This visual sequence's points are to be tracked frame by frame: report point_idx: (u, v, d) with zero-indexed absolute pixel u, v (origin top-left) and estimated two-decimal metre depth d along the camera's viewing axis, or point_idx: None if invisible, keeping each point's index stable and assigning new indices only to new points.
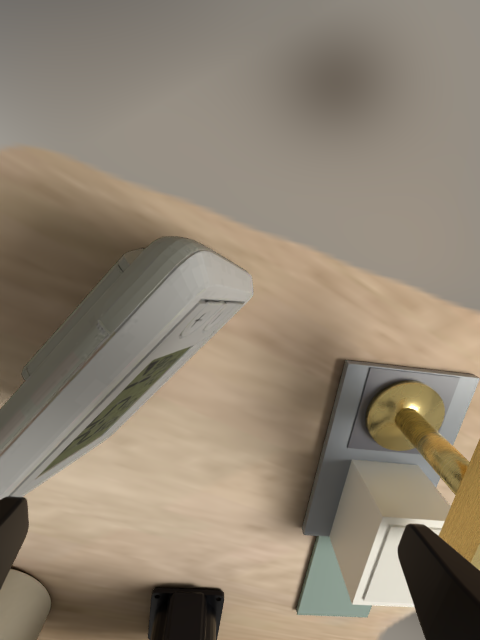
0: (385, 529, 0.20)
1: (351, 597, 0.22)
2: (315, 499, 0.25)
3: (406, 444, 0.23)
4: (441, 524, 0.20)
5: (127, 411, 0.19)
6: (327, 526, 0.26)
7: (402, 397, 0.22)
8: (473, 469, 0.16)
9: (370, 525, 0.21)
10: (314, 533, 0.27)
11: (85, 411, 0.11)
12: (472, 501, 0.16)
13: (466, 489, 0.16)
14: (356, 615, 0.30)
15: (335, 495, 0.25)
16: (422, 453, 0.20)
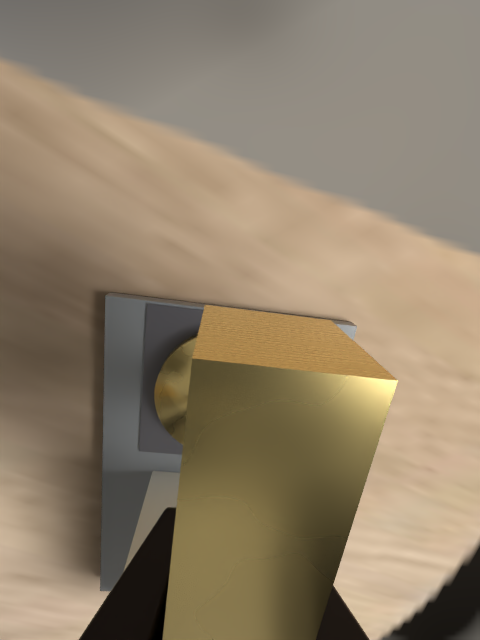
0: None
1: None
2: (105, 536, 0.15)
3: None
4: None
5: None
6: None
7: None
8: None
9: None
10: None
11: None
12: None
13: None
14: None
15: None
16: None
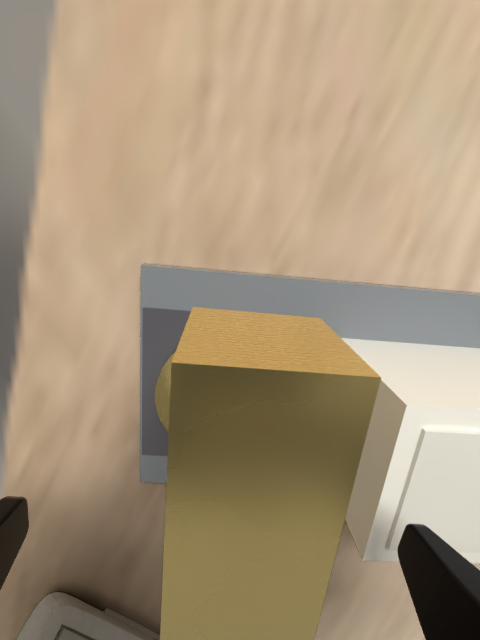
0: None
1: None
2: None
3: None
4: (404, 452, 0.09)
5: None
6: None
7: None
8: None
9: None
10: None
11: None
12: None
13: None
14: None
15: None
16: None
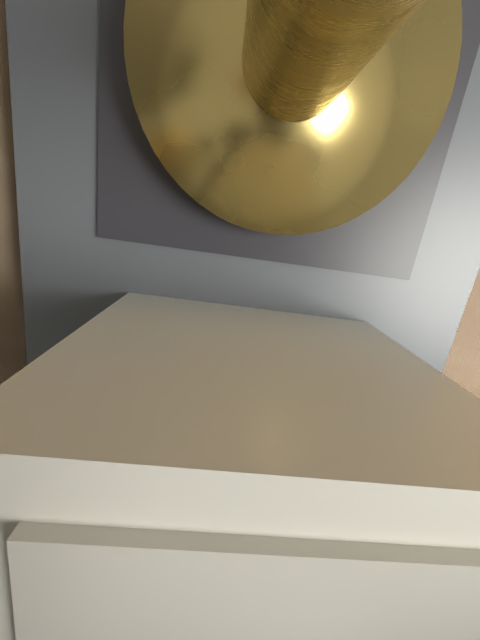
0: None
1: None
2: None
3: (162, 83, 0.05)
4: (457, 519, 0.03)
5: None
6: None
7: None
8: None
9: None
10: None
11: None
12: None
13: None
14: None
15: None
16: None
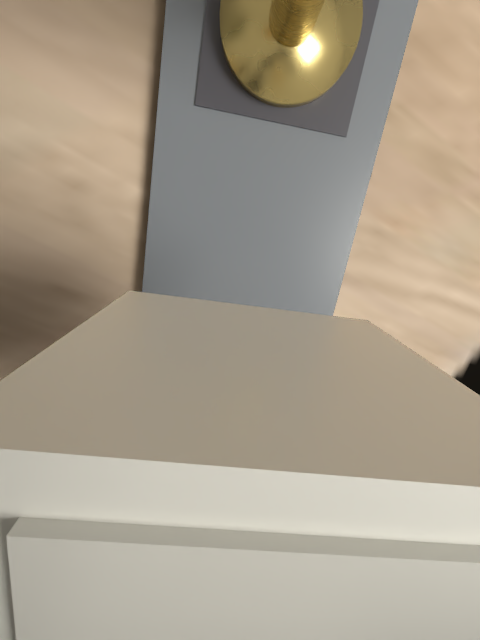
0: None
1: None
2: (152, 224, 0.15)
3: (234, 27, 0.12)
4: (459, 515, 0.03)
5: None
6: (179, 286, 0.16)
7: (338, 3, 0.12)
8: None
9: None
10: None
11: None
12: None
13: None
14: None
15: (186, 218, 0.15)
16: None
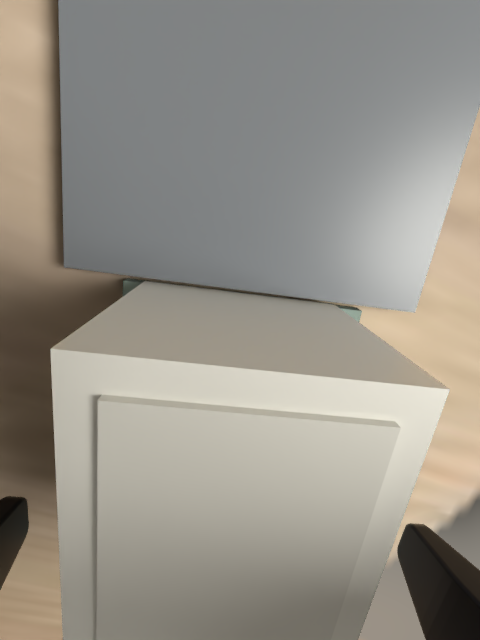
0: (87, 420, 0.04)
1: None
2: (69, 104, 0.07)
3: None
4: (348, 398, 0.04)
5: None
6: (135, 235, 0.08)
7: None
8: None
9: None
10: (98, 263, 0.08)
11: None
12: None
13: None
14: None
15: (138, 86, 0.07)
16: None
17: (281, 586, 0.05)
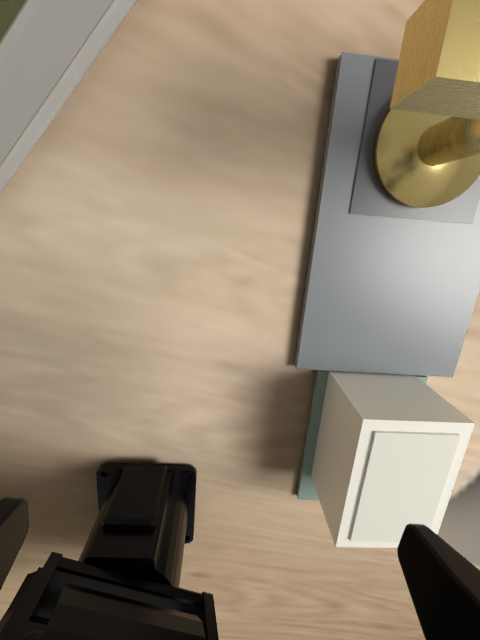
0: (368, 438, 0.15)
1: (334, 538, 0.17)
2: (309, 308, 0.18)
3: (389, 156, 0.15)
4: (444, 427, 0.15)
5: None
6: (329, 354, 0.19)
7: None
8: None
9: (350, 439, 0.16)
10: (311, 366, 0.19)
11: None
12: None
13: None
14: None
15: (337, 299, 0.18)
16: None
17: (420, 489, 0.16)
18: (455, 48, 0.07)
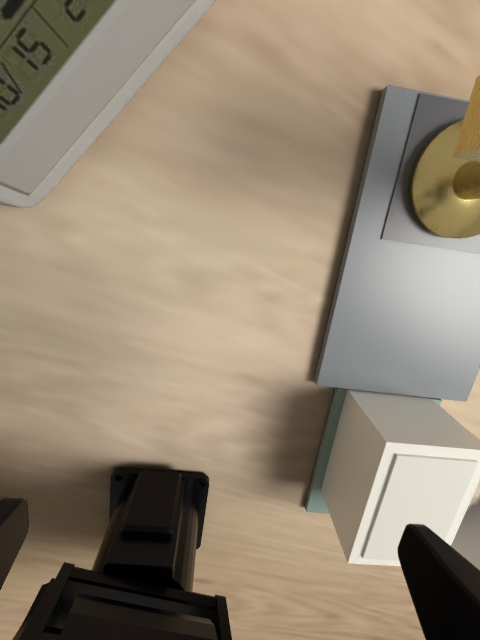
0: (390, 460, 0.15)
1: (347, 554, 0.17)
2: (333, 327, 0.18)
3: (425, 188, 0.16)
4: (463, 453, 0.15)
5: (40, 100, 0.12)
6: (349, 372, 0.19)
7: None
8: None
9: (370, 459, 0.16)
10: (331, 383, 0.19)
11: None
12: None
13: None
14: None
15: (361, 321, 0.18)
16: None
17: (435, 512, 0.16)
18: None
